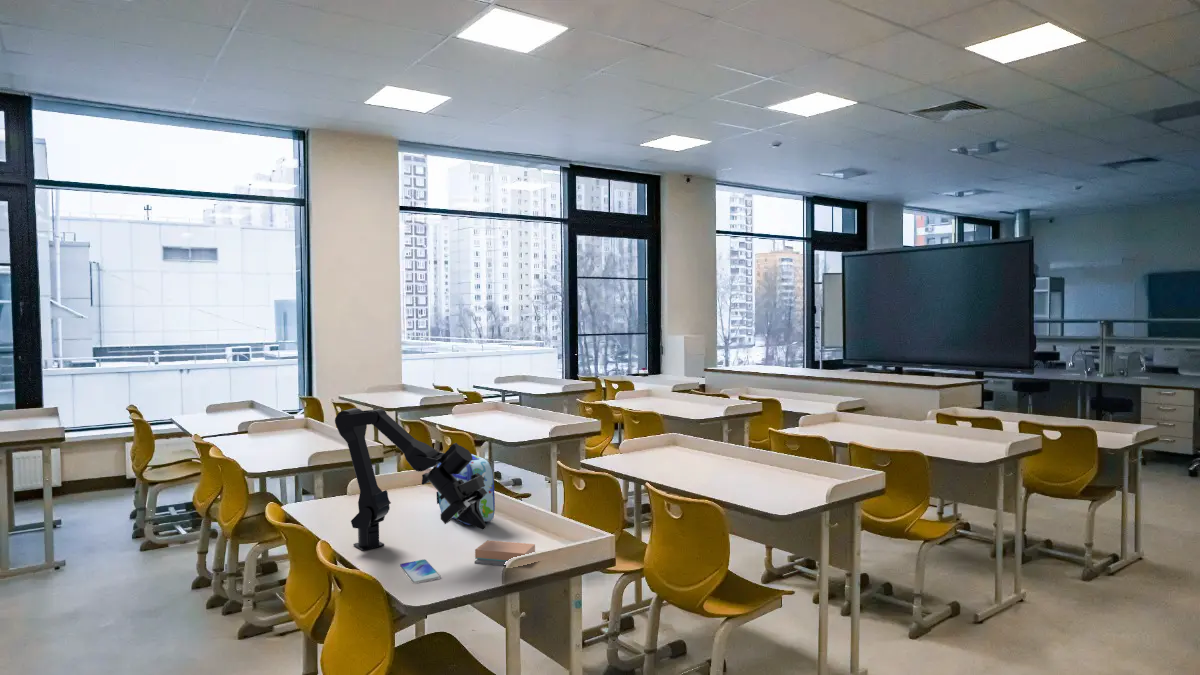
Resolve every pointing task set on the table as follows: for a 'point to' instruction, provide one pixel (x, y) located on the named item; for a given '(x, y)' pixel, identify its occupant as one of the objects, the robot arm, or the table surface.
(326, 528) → the table surface
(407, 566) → the smartphone
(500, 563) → the rubber mat
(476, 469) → the lunch box
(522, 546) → the glazed tile
